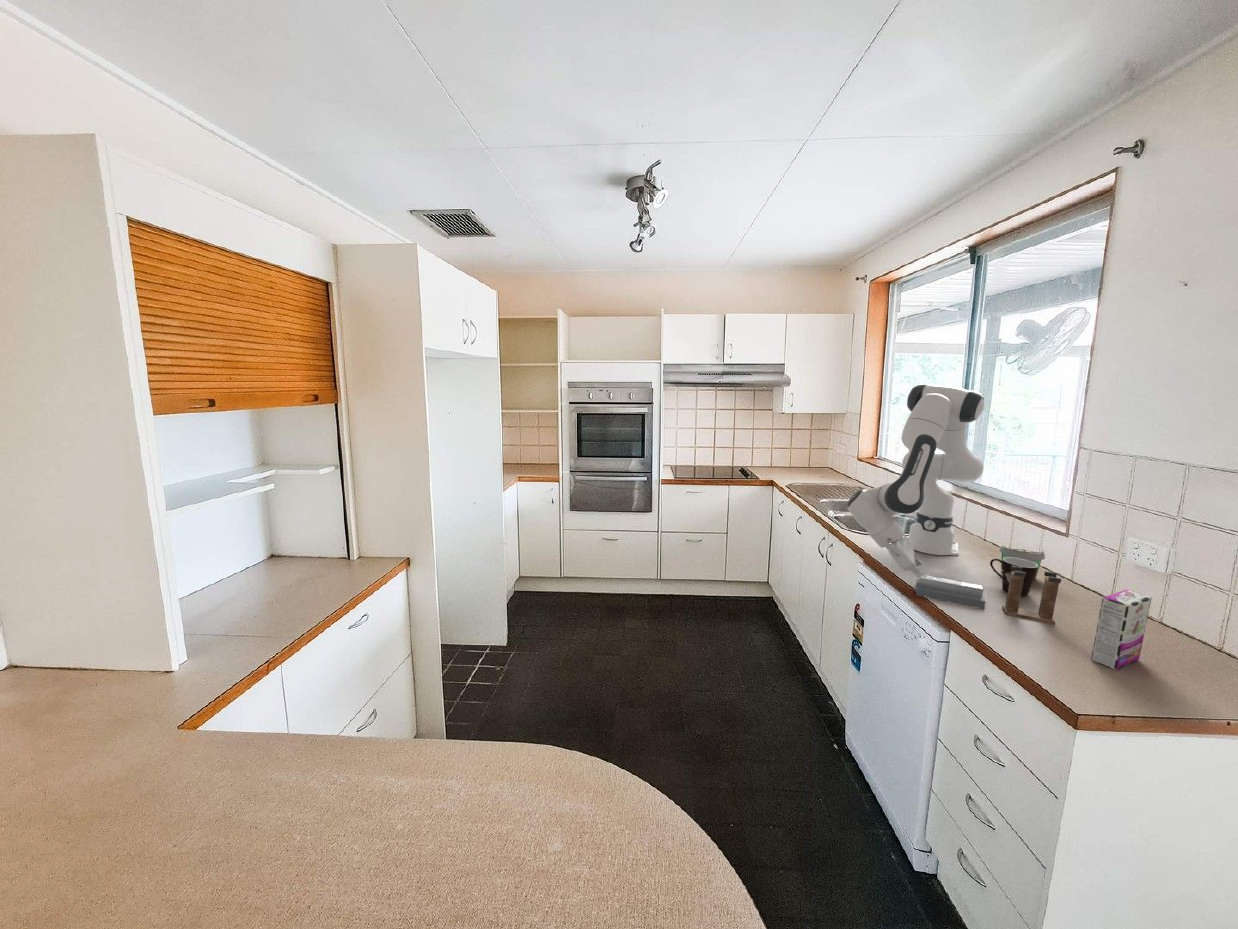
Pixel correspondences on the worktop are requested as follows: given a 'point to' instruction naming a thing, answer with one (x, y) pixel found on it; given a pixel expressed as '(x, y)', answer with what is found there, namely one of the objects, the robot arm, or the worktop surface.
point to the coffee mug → (1007, 562)
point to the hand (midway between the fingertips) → (920, 570)
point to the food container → (1022, 556)
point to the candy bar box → (1120, 629)
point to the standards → (1046, 599)
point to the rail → (951, 585)
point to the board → (950, 596)
